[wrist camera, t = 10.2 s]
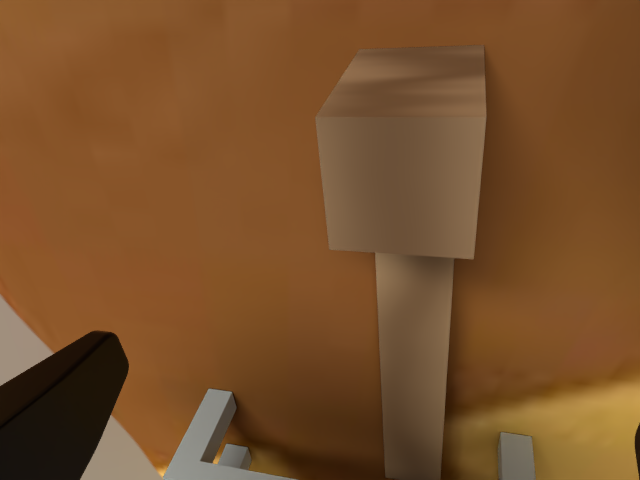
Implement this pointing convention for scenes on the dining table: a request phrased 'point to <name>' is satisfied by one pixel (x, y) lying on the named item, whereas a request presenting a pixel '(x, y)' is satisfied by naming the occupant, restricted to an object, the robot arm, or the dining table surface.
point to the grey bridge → (233, 476)
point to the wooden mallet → (407, 218)
